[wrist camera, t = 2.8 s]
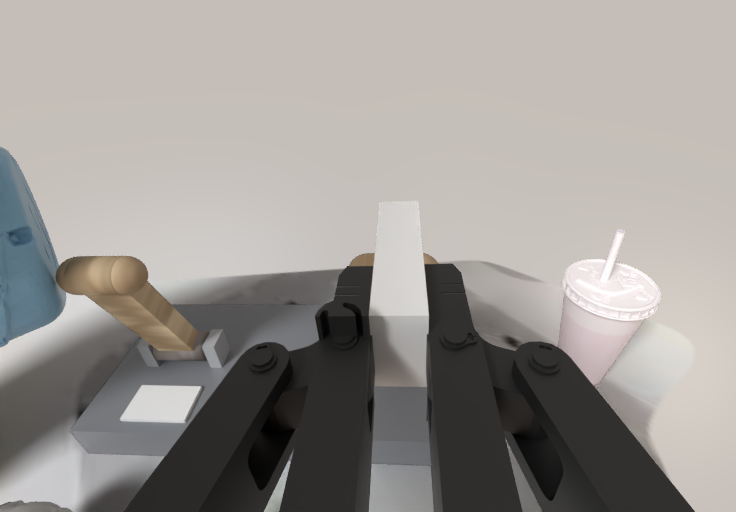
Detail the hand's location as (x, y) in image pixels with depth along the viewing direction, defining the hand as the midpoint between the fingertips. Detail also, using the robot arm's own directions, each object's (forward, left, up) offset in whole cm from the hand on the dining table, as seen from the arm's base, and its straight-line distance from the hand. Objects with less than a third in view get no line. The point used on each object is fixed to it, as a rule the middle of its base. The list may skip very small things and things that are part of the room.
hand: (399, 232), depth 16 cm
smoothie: (+16, +10, -21) cm, 28 cm away
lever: (-18, +9, -17) cm, 26 cm away
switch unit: (-9, +8, -20) cm, 24 cm away
